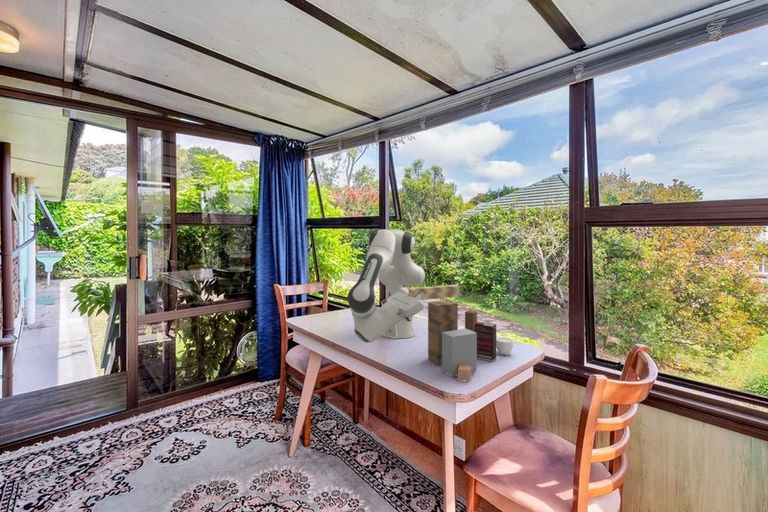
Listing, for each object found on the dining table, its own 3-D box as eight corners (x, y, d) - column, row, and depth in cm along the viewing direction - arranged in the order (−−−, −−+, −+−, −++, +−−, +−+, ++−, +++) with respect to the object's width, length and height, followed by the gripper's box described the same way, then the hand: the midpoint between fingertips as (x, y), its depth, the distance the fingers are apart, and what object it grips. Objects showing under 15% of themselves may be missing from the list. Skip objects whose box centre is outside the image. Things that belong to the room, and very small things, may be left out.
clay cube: (457, 380, 127) (457, 368, 126) (459, 375, 131) (459, 364, 131) (469, 382, 125) (469, 370, 125) (471, 377, 129) (471, 366, 129)
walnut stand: (437, 365, 140) (438, 305, 139) (428, 359, 148) (428, 302, 146) (457, 362, 144) (457, 303, 143) (446, 355, 152) (447, 300, 150)
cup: (494, 355, 153) (494, 340, 152) (497, 348, 161) (497, 334, 161) (511, 357, 149) (512, 343, 149) (514, 350, 158) (514, 337, 157)
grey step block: (452, 376, 130) (452, 336, 129) (441, 370, 136) (442, 332, 135) (476, 371, 134) (476, 333, 133) (465, 365, 141) (465, 328, 140)
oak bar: (412, 300, 129) (412, 289, 129) (408, 299, 133) (408, 288, 132) (459, 296, 138) (459, 285, 138) (454, 295, 141) (454, 284, 141)
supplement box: (496, 359, 148) (497, 324, 147) (492, 362, 144) (493, 326, 143) (478, 354, 153) (478, 321, 152) (473, 357, 149) (474, 323, 148)
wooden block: (468, 352, 157) (468, 314, 155) (459, 349, 160) (460, 313, 158) (477, 347, 163) (477, 311, 162) (468, 345, 166) (469, 310, 165)
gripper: (401, 311, 118) (430, 289, 122) (379, 300, 137) (405, 282, 141) (409, 325, 120) (437, 303, 124) (386, 313, 138) (411, 294, 143)
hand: (420, 292), depth 133 cm, fingers closed on oak bar, 3 cm apart
